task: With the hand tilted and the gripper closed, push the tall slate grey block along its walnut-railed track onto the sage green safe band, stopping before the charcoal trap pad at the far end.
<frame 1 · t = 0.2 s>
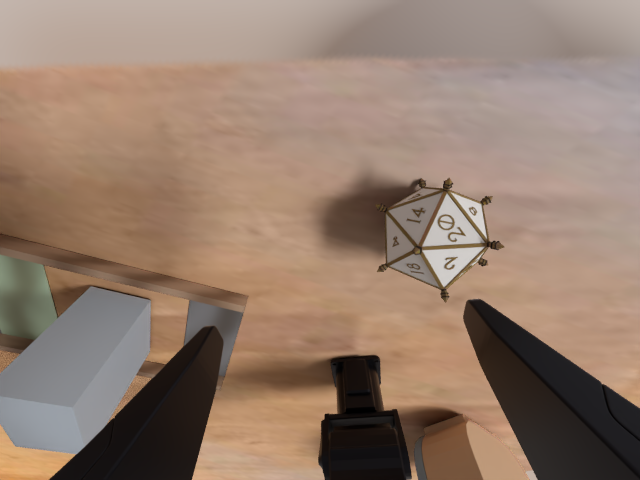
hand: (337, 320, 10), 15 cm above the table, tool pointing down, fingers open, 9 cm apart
game die: (416, 210, 24), on the table
alarm clock: (458, 430, 48), on the table
slate block: (89, 366, 27), point 6 cm above the table, slide at 0.0 cm
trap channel: (18, 297, 30), on the table
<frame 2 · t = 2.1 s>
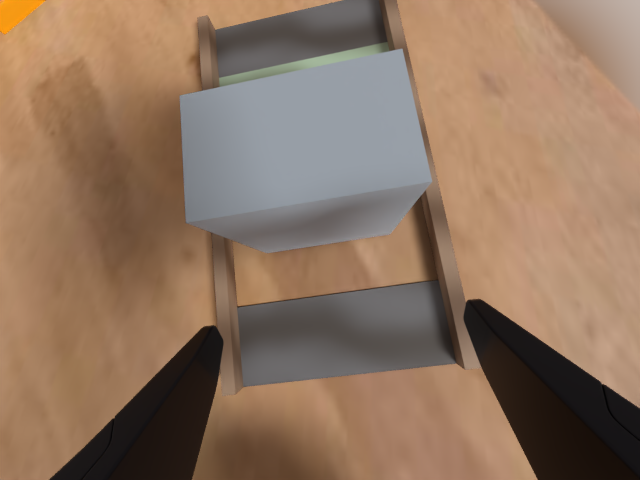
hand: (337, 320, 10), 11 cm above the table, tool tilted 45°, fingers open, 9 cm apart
slate block: (312, 183, 17), point 6 cm above the table, slide at 0.0 cm
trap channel: (305, 93, 24), on the table
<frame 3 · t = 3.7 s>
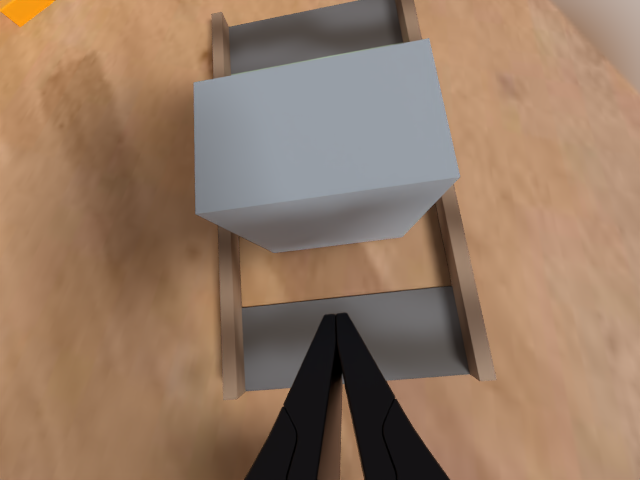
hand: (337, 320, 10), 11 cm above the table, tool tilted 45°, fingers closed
slate block: (326, 180, 16), point 6 cm above the table, slide at 0.0 cm
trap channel: (318, 92, 24), on the table
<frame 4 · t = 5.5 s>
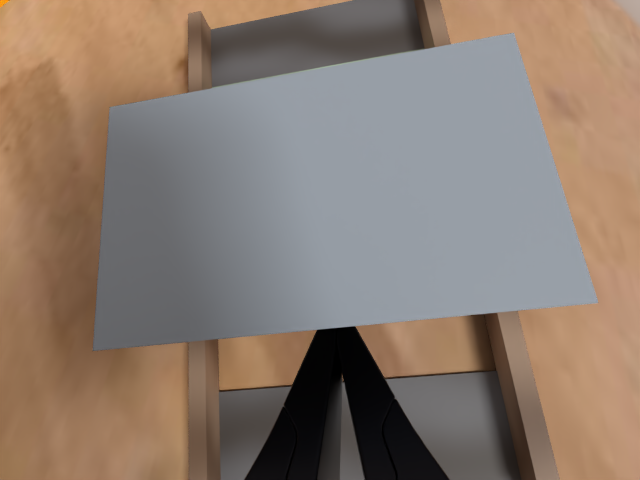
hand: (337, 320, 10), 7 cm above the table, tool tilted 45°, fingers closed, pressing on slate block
slate block: (329, 237, 11), point 6 cm above the table, slide at 0.3 cm, touching gripper
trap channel: (319, 109, 19), on the table
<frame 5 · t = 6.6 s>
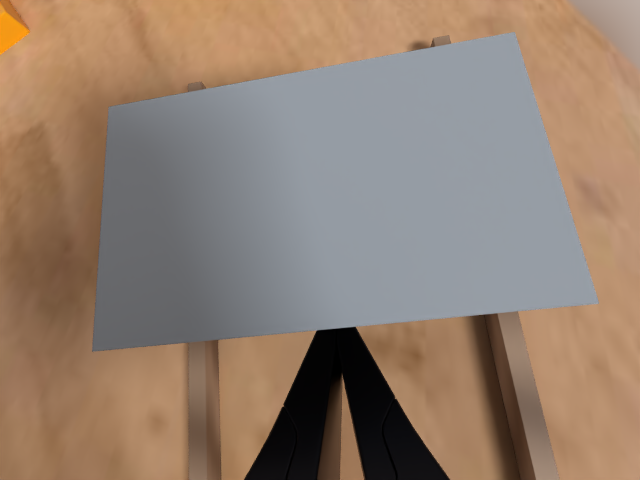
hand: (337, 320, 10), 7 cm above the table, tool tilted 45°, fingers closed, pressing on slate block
slate block: (329, 237, 11), point 6 cm above the table, slide at 6.7 cm, touching gripper
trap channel: (329, 192, 18), on the table
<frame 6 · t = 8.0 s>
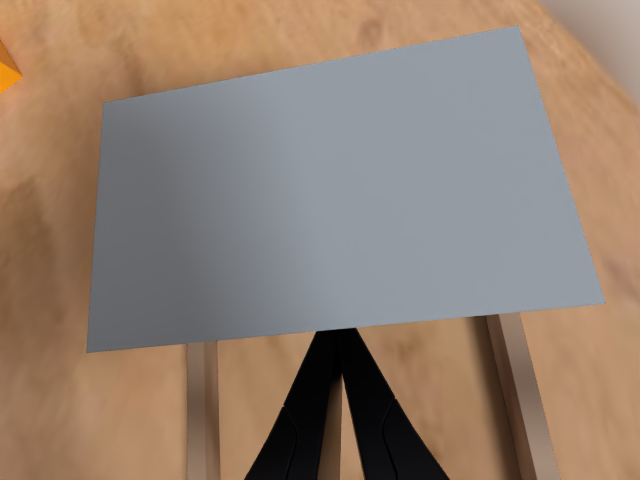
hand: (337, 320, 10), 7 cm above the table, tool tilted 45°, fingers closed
slate block: (328, 236, 11), point 6 cm above the table, slide at 11.7 cm
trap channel: (337, 265, 17), on the table
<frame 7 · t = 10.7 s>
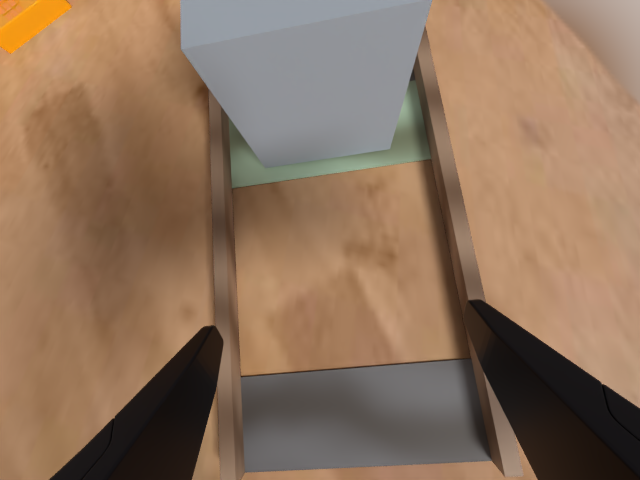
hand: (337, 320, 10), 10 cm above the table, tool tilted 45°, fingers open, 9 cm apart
flat orange slab: (33, 14, 29), on the table
slate block: (312, 71, 16), point 6 cm above the table, slide at 11.7 cm
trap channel: (323, 134, 22), on the table
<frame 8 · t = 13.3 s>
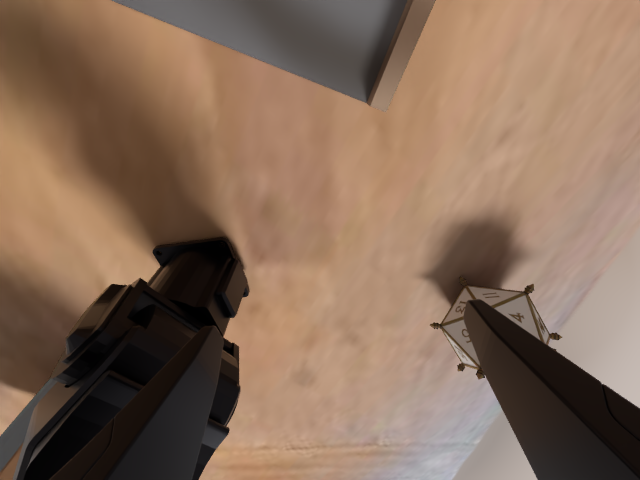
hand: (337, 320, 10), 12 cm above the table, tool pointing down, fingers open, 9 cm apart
game die: (469, 294, 26), on the table
alarm clock: (98, 385, 35), on the table
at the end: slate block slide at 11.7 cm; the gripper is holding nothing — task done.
